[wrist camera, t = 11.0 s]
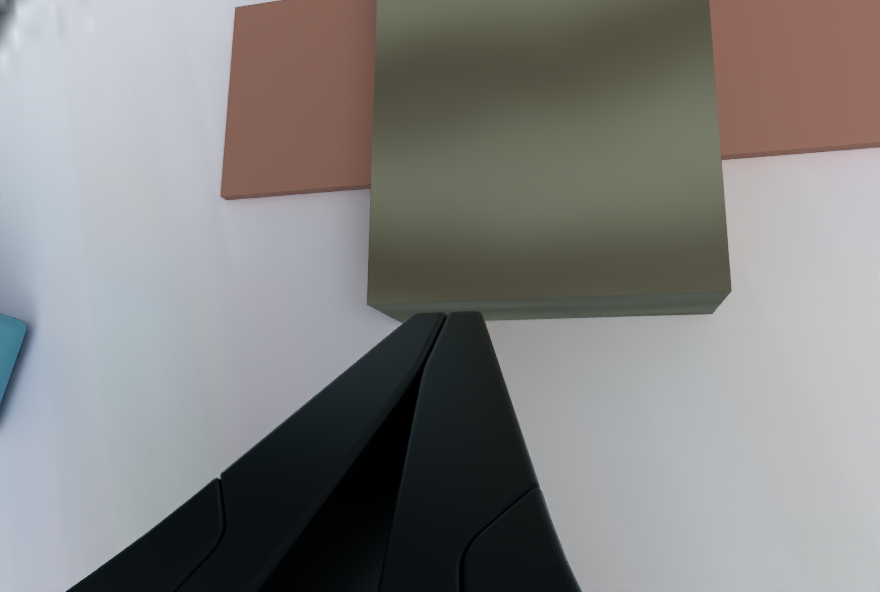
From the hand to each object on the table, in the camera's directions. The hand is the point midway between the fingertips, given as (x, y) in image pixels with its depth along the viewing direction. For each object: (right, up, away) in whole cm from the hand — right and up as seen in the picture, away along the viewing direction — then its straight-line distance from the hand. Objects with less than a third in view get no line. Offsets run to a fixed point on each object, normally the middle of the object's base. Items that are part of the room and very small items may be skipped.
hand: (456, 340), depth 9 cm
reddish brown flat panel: (+3, +9, +15) cm, 18 cm away
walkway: (+3, +11, +16) cm, 19 cm away
